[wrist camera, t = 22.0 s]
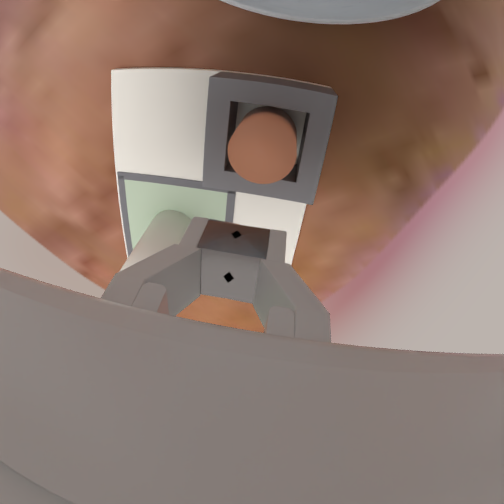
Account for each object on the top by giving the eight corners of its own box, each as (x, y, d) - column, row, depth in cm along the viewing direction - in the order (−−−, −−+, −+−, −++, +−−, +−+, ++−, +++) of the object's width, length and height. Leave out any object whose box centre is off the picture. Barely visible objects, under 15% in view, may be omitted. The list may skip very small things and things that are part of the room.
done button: (242, 102, 18) (230, 116, 15) (301, 111, 18) (302, 127, 15) (236, 155, 20) (225, 178, 17) (291, 164, 20) (290, 189, 17)
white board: (116, 68, 18) (88, 77, 15) (330, 86, 18) (338, 96, 15) (131, 258, 30) (115, 285, 27) (284, 286, 29) (281, 317, 26)
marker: (149, 207, 25) (76, 319, 15) (196, 212, 24) (140, 335, 15) (154, 247, 27) (96, 359, 17) (197, 253, 27) (152, 374, 17)
